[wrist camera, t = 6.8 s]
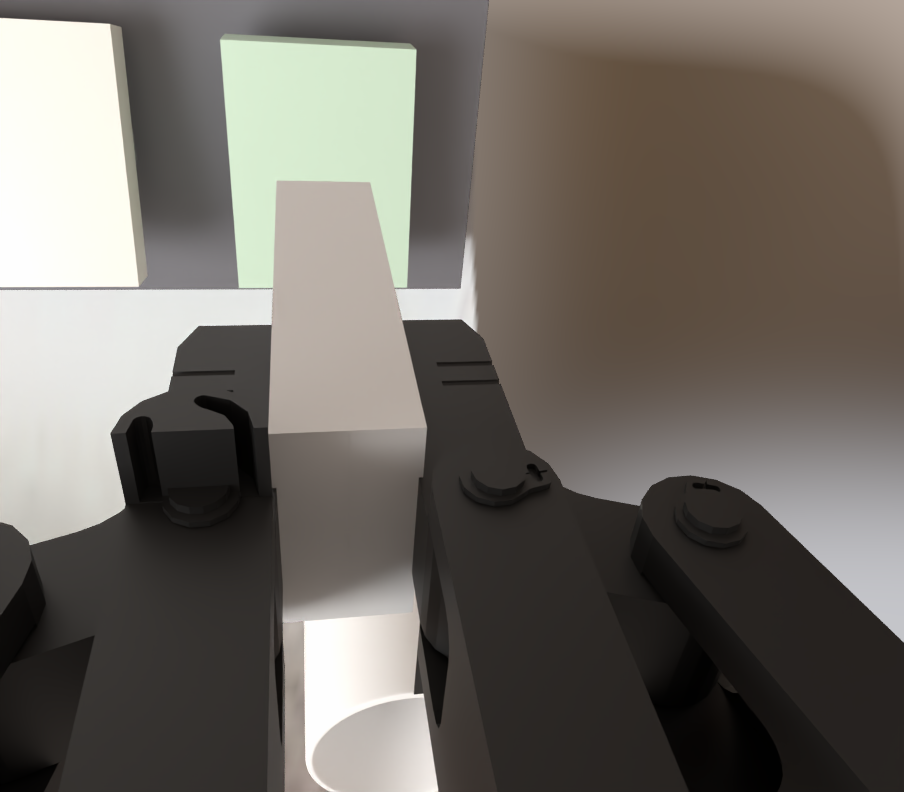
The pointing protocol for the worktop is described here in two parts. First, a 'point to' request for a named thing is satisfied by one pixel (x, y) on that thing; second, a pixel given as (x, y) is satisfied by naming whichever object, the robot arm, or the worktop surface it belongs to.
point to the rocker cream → (67, 158)
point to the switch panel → (205, 130)
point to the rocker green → (316, 134)
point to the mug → (366, 705)
